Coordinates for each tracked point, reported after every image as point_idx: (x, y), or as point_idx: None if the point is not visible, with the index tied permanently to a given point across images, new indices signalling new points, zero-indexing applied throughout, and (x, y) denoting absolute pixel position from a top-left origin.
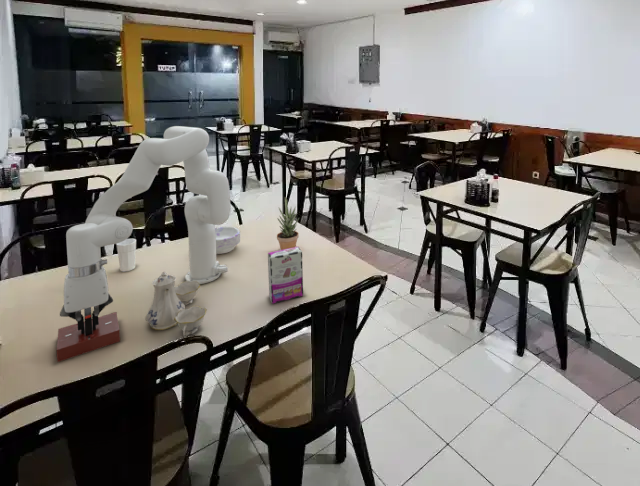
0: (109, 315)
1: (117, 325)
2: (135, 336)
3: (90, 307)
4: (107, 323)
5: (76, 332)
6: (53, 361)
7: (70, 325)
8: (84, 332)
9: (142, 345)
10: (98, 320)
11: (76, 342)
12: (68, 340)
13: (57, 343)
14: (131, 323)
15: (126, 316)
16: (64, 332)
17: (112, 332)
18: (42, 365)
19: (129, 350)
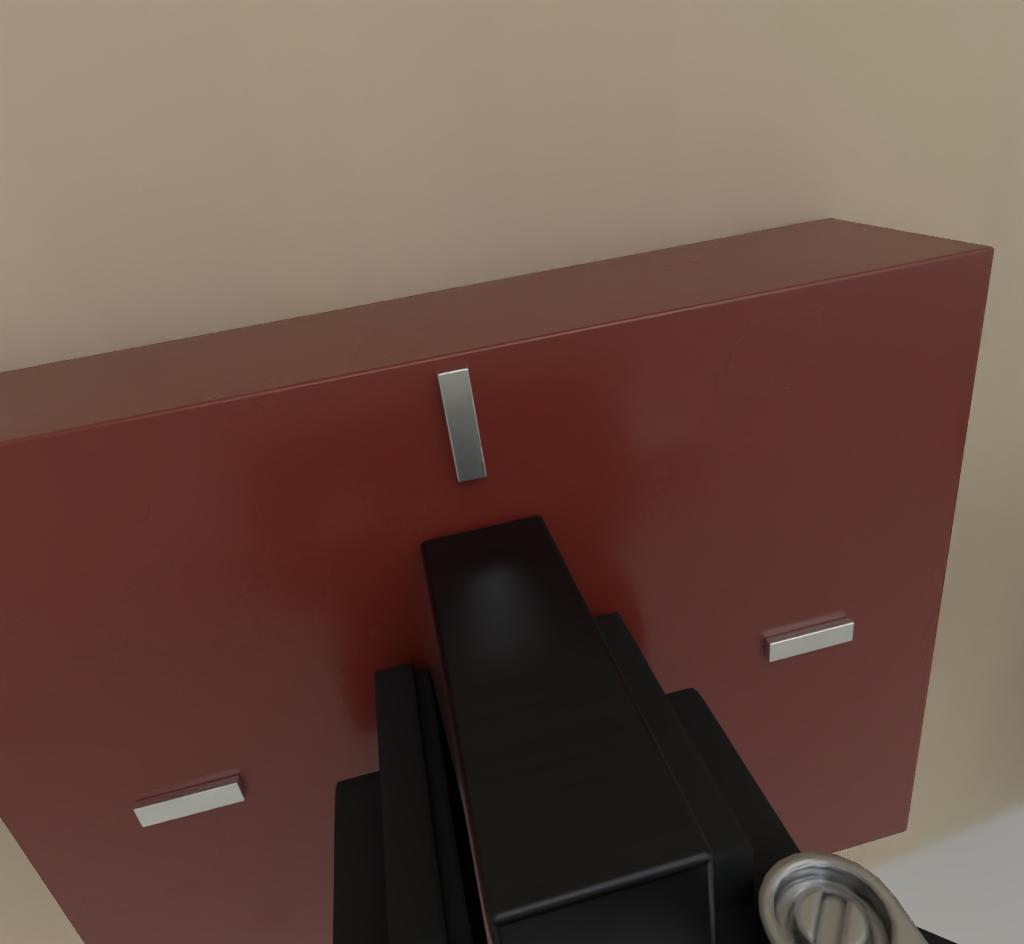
0: (855, 356)
1: (908, 728)
2: (950, 665)
3: (700, 911)
4: (798, 655)
5: (315, 741)
6: None
7: (60, 439)
8: (459, 777)
9: (961, 813)
10: (655, 474)
11: None
12: (253, 908)
13: (88, 939)
14: (987, 357)
15: (985, 63)
16: (53, 686)
17: (825, 848)
18: (24, 880)
19: (857, 849)
